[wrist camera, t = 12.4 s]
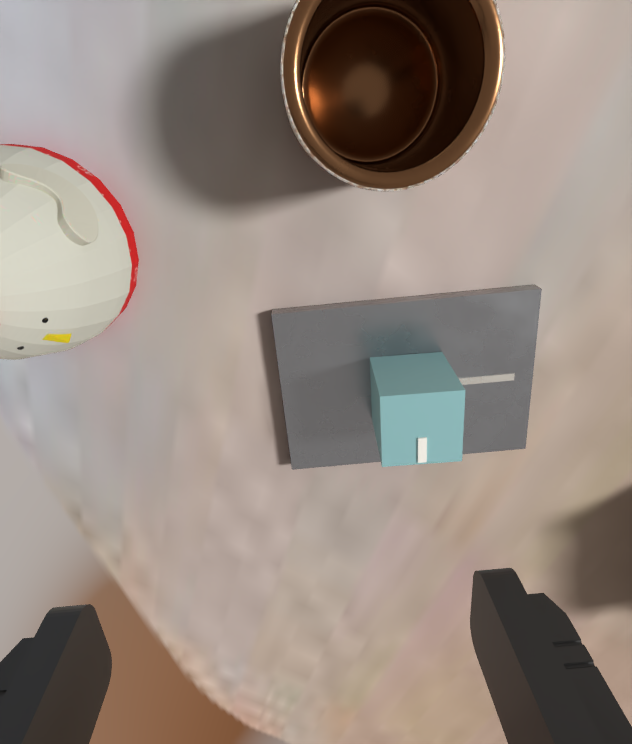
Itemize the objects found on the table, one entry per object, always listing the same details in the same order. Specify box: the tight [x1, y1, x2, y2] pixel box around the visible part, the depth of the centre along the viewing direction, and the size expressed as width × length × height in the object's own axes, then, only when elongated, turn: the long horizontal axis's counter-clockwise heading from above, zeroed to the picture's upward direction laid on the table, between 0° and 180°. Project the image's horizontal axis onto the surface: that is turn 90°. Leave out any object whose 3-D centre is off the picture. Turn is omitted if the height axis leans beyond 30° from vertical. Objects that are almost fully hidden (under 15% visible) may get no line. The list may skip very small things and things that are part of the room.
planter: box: [280, 0, 505, 191], centre depth 28 cm, size 11×11×10 cm
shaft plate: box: [271, 285, 542, 469], centre depth 39 cm, size 20×14×6 cm
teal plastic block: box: [370, 352, 465, 467], centre depth 37 cm, size 6×6×7 cm
